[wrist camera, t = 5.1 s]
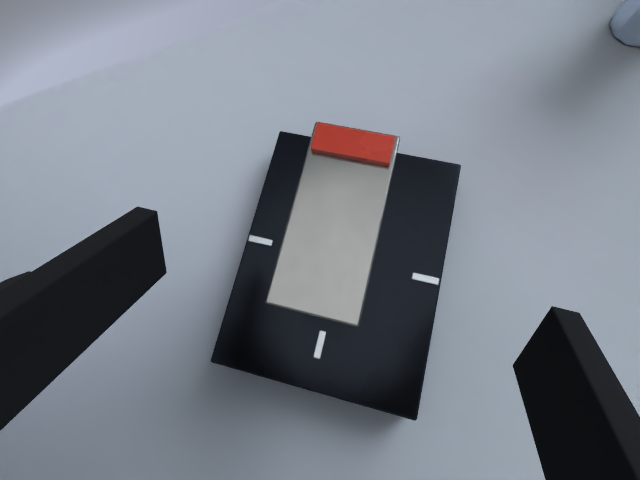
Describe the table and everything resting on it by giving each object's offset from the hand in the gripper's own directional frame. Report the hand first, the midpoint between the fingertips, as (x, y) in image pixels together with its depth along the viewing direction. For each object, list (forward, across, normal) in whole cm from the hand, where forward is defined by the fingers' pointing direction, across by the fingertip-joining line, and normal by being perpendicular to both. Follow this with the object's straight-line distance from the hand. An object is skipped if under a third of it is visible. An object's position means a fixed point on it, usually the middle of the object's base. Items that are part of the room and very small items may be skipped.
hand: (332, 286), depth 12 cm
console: (+8, 0, -5) cm, 9 cm away
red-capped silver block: (+6, 0, -3) cm, 7 cm away
